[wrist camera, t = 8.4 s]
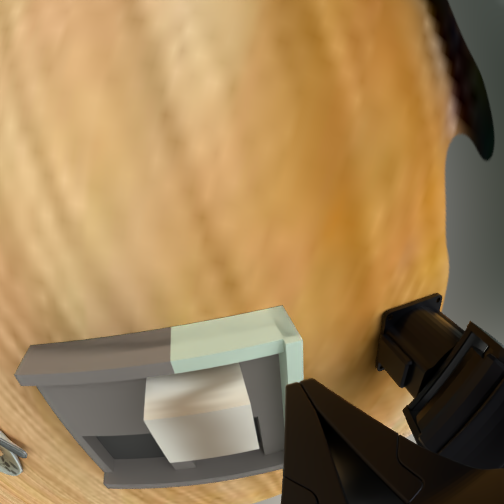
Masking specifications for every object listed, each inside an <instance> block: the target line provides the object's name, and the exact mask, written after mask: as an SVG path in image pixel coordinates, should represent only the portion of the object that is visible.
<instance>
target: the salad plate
mask: <svg viewBox="0 0 504 504" xmlns="http://www.w3.org/2000/svg"><path fill="white" fill-rule="evenodd" d="M0 450H1V451H2V452H3V454H4V455H2V456H0V472H3V473H5V474H8V475H12V476H16V475H19V474H20V473H22V472H23V469H22V466H21V463H20V460H19V458H18V456H19V457H21V458H27V453H26V452H25V451H24V450H23V449H22V448H20V447H19V446H18V445H16V444H15V443H13V442H12V441H11V440H9V439H8V438H7V437H6V435H5V434H4V433H3V432H2V431H1V430H0Z"/></svg>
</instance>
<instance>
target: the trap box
mask: <svg viewBox="0 0 504 504" xmlns="http://www.w3.org/2000/svg"><path fill="white" fill-rule="evenodd" d="M238 362H239V365H240V368H241V372H242V376H243V379H244V383H245V386H246V390H247V393H248V397H249V400H250V404H251V409H252V414H253V419H254V424H255V429H256V435H257V440H258V445H259V449H256V450H251V451H247V452H242V453H237V454H231V455H226V456H220V457H214V458H207V459H200V460H192V461H184V462H174V463H170V462H169V461H168V459H167V458H166V456H165V455H164V453H163V451H162V450H161V448H160V447H159V445H158V444H157V442H156V440H155V439H154V437H153V436H152V434H151V432H150V431H149V429H148V427H147V426H146V424H145V422H144V404H145V390H146V378H148V377H156V376H163V375H170V374H177V373H183V372H189V371H195V370H201V369H207V368H212V367H218V366H223V365H228V364H233V363H238ZM14 376H15V377H16V379H17V380H18V382H19V383H20V385H21V386H37V388H38V390H39V391H40V393H41V394H42V396H43V397H44V399H45V400H46V401H47V403H48V404H49V406H50V407H51V409H52V410H53V411H54V413H55V414H56V415H57V417H58V418H59V420H60V421H61V422H62V423H63V425H64V426H65V427H66V429H67V430H68V431H69V432H70V434H71V435H72V436H73V437H74V439H75V440H76V441H77V442H78V443H79V445H80V446H81V447H82V448H83V449H84V451H85V452H86V453H87V454H88V455H89V456H90V457H91V458H92V460H93V461H94V462H95V463H96V464H97V465H98V466H99V467H100V468H101V469H102V470H103V471H104V482H103V484H104V485H105V486H106V487H107V488H113V489H144V488H166V487H179V486H189V485H198V484H206V483H214V482H220V481H227V480H232V479H238V478H243V477H248V476H253V475H258V474H262V473H267V472H271V471H275V470H279V469H283V460H284V427H285V386H286V385H287V384H291V383H295V382H300V381H302V380H303V339H302V338H301V336H300V334H299V333H298V331H297V329H296V328H295V326H294V324H293V322H292V321H291V319H290V317H289V316H288V314H287V312H286V311H285V309H284V307H283V305H282V306H277V307H273V308H268V309H263V310H259V311H254V312H249V313H244V314H239V315H234V316H229V317H224V318H219V319H214V320H208V321H203V322H197V323H192V324H186V325H180V326H175V327H169V328H163V329H156V330H150V331H144V332H137V333H130V334H123V335H116V336H109V337H102V338H94V339H86V340H78V341H69V342H60V343H50V344H40V345H30V347H29V349H28V351H27V352H26V354H25V356H24V358H23V359H22V361H21V363H20V365H19V367H18V369H17V371H16V372H15V374H14Z"/></svg>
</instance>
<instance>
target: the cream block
mask: <svg viewBox="0 0 504 504" xmlns="http://www.w3.org/2000/svg"><path fill="white" fill-rule="evenodd" d="M144 422H145V424H146V426H147V427H148V429H149V431H150V432H151V434H152V436H153V437H154V439H155V440H156V442H157V444H158V445H159V447H160V448H161V450H162V451H163V453H164V455H165V456H166V458H167V459H168V461H169V462H170V463H174V462H184V461H192V460H200V459H207V458H214V457H220V456H226V455H231V454H237V453H242V452H247V451H251V450H256V449H259V445H258V440H257V435H256V429H255V424H254V419H253V414H252V409H251V404H250V400H249V397H248V393H247V390H246V386H245V383H244V379H243V376H242V372H241V368H240V365H239V362H238V363H233V364H228V365H223V366H218V367H212V368H207V369H201V370H195V371H189V372H183V373H177V374H170V375H163V376H156V377H148V378H146V390H145V404H144Z"/></svg>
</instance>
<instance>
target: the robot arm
mask: <svg viewBox="0 0 504 504" xmlns="http://www.w3.org/2000/svg"><path fill="white" fill-rule="evenodd" d="M441 301H442V296H441V295H440V294H439V293H436V294H433V295H430V296H428V297H425V298H422V299H419V300H416V301H414V302H411V303H408V304H405V305H402V306H399V307H396V308H393V309H390V310H388V311H386V312H385V313H384V315H383V322H382V329H381V336H380V341H379V347H378V353H377V360H376V366H375V367H376V369H377V370H378V371H382V370H386V371H387V373H388V374H389V375H390V376H391V377H392V379H393V380H394V381H395V382H396V384H397V385H398V386H399V387H400V388H403V387H405V388H406V389H407V390H408V392H409V393H410V394H411V395H412V396H413V398H414V399H413V401H412V402H411V403H410V404H409V405H407V406H406V407H405V408H404V409H403V413H404V415H405V417H406V420H407V422H408V425H409V427H410V429H411V431H412V434H413V436H414V438H415V440H416V443H417V444H415V443H414V442H412V441H410V440H408V439H407V438H405V437H403V436H402V435H399V436H398V433H396V432H395V431H393V430H391V429H390V428H388V427H387V426H385V425H383V424H382V423H380V422H379V421H377V420H375V419H374V418H372V417H371V416H369V415H367V414H366V413H364V412H363V411H361V410H360V409H358V408H357V407H355V406H354V405H352V404H350V403H349V402H347V401H346V400H344V399H343V398H341V397H340V396H338V395H337V394H335V393H334V392H332V391H331V390H329V389H328V388H326V387H325V386H324V385H322V384H321V383H319V382H318V381H316V380H315V379H313V378H309V379H305V380H302V381H300V382H295V383H291V384H287V385H286V386H285V427H284V460H283V481H282V496H281V504H504V345H503V344H502V343H500V342H499V341H498V340H496V339H495V338H494V337H493V336H491V335H490V334H489V333H487V332H486V331H484V330H483V329H482V328H480V327H479V326H477V325H476V324H474V323H473V322H471V321H470V322H469V324H468V325H467V329H466V330H465V331H464V330H463V329H461V328H460V327H459V326H458V325H457V324H455V323H454V322H453V321H452V320H450V319H449V318H448V317H446V316H445V315H444V314H443V313H441V312H440V306H441ZM487 346H488V347H487ZM486 347H487V349H486ZM485 349H486V350H485ZM484 350H485V352H484Z"/></svg>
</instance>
